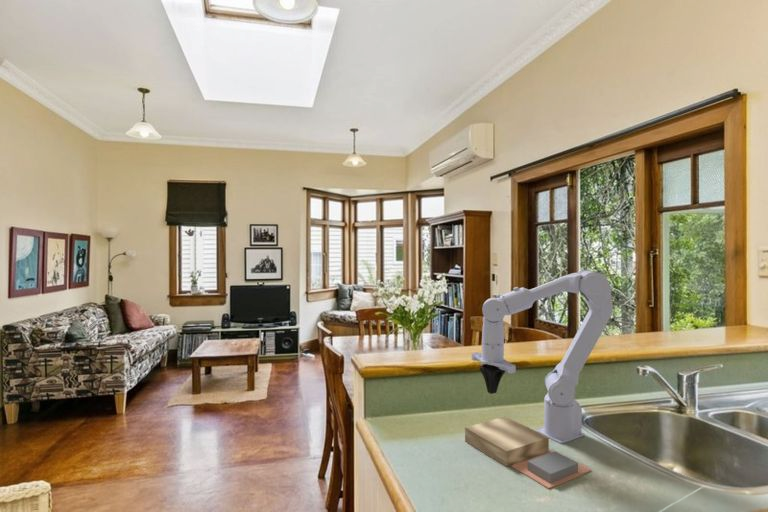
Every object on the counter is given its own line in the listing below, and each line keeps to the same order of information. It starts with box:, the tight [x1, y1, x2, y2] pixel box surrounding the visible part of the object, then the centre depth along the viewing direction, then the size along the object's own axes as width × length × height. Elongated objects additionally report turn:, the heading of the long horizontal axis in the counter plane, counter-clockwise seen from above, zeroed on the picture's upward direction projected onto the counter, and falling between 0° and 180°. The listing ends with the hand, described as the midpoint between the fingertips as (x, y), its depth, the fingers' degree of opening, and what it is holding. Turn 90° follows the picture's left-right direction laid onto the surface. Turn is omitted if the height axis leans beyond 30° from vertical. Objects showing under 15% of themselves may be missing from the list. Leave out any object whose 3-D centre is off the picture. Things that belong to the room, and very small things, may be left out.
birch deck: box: [464, 416, 550, 467], centre depth 106 cm, size 14×14×4 cm
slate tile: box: [528, 450, 579, 484], centre depth 94 cm, size 9×6×2 cm, turn 120°
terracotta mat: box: [510, 450, 592, 490], centre depth 95 cm, size 14×10×1 cm
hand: (492, 392), depth 117 cm, fingers closed
